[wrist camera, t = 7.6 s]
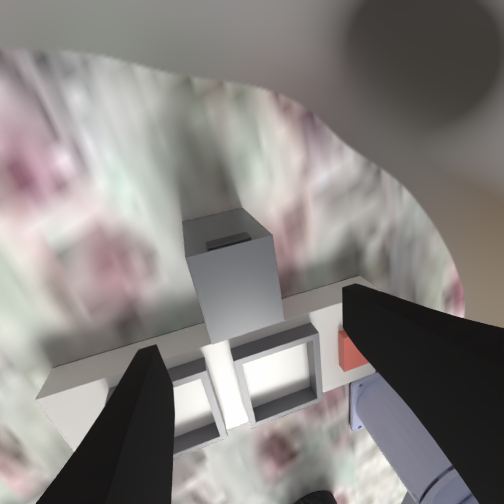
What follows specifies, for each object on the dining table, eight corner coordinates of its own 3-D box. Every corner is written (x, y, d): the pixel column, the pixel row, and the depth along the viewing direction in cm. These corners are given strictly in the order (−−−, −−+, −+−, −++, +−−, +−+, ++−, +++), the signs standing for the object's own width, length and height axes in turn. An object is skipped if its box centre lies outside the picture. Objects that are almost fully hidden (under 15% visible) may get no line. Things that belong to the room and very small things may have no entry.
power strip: (359, 275, 22) (392, 298, 19) (357, 353, 26) (384, 383, 22) (52, 368, 18) (24, 419, 14) (104, 445, 21) (91, 500, 18)
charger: (241, 205, 17) (271, 232, 12) (254, 272, 19) (284, 321, 14) (181, 219, 16) (184, 254, 11) (201, 287, 18) (211, 344, 13)
